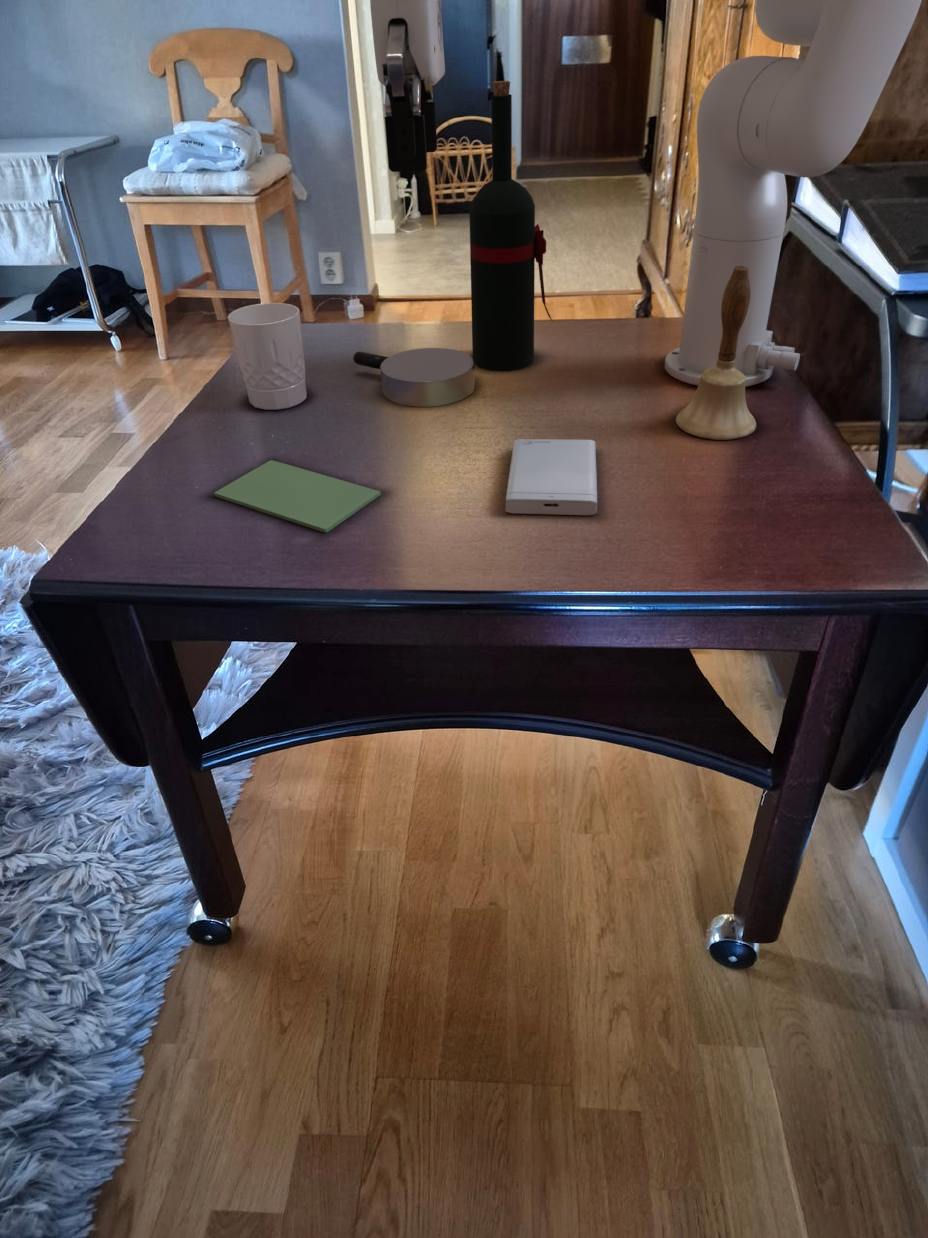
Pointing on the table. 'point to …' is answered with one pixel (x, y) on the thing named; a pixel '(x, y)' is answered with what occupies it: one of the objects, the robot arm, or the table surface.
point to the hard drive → (552, 477)
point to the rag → (298, 495)
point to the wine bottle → (503, 255)
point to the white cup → (270, 354)
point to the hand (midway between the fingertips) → (414, 160)
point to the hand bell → (723, 375)
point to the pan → (423, 375)
